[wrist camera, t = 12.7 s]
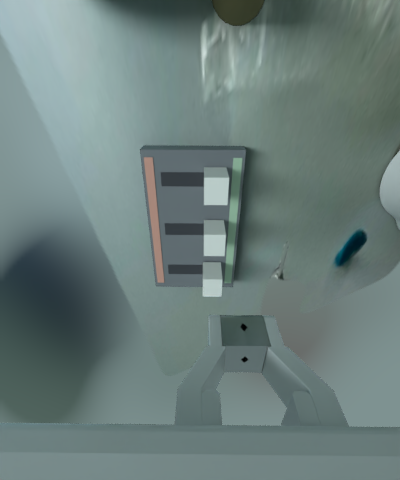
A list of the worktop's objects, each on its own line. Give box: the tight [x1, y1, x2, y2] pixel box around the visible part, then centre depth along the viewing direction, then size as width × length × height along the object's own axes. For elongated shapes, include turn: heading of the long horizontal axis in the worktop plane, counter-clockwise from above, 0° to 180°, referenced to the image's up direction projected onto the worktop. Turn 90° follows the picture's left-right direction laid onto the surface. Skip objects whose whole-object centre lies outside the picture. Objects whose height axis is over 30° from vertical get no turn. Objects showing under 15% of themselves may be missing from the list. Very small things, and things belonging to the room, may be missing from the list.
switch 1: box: [204, 167, 229, 205], centre depth 33 cm, size 3×4×4 cm
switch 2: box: [203, 262, 222, 297], centre depth 42 cm, size 3×4×4 cm
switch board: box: [140, 146, 246, 287], centre depth 41 cm, size 14×24×3 cm, turn 0°
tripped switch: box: [204, 220, 226, 256], centre depth 37 cm, size 3×4×4 cm
